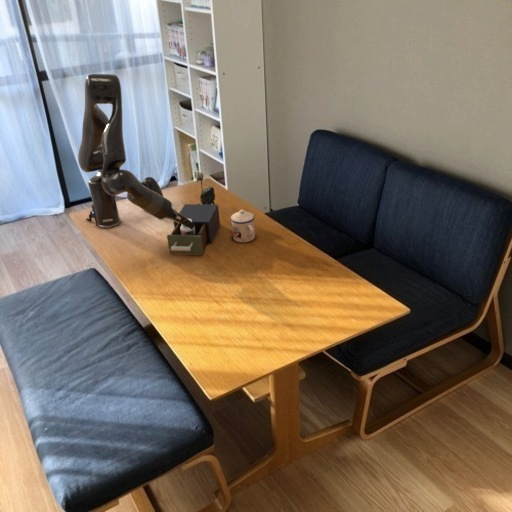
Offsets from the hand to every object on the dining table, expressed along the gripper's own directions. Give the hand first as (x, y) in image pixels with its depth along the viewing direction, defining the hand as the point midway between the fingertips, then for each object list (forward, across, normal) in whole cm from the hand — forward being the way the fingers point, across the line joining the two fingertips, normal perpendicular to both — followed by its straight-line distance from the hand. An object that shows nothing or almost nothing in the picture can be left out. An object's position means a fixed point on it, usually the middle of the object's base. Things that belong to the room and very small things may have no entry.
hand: (186, 223), depth 189 cm
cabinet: (+14, +8, +1) cm, 16 cm away
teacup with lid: (+21, -10, -6) cm, 24 cm away
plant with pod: (+24, +21, -8) cm, 33 cm away
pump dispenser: (+14, +42, +1) cm, 44 cm away
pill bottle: (+6, 0, +6) cm, 9 cm away
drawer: (+6, -1, +8) cm, 10 cm away
